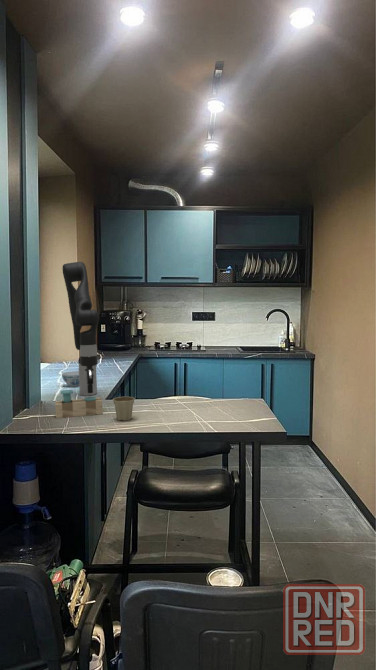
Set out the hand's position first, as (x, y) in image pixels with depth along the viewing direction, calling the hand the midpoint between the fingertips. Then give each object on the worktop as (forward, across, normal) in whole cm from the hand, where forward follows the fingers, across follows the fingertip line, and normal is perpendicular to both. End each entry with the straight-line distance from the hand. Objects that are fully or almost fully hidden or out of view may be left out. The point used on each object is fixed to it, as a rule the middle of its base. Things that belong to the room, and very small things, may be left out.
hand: (90, 392), depth 202 cm
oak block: (+9, 0, -5) cm, 11 cm away
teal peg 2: (+9, 0, 0) cm, 9 cm away
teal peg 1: (+5, 0, -10) cm, 11 cm away
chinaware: (+10, -71, -4) cm, 72 cm away
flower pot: (+9, +16, +13) cm, 22 cm away
